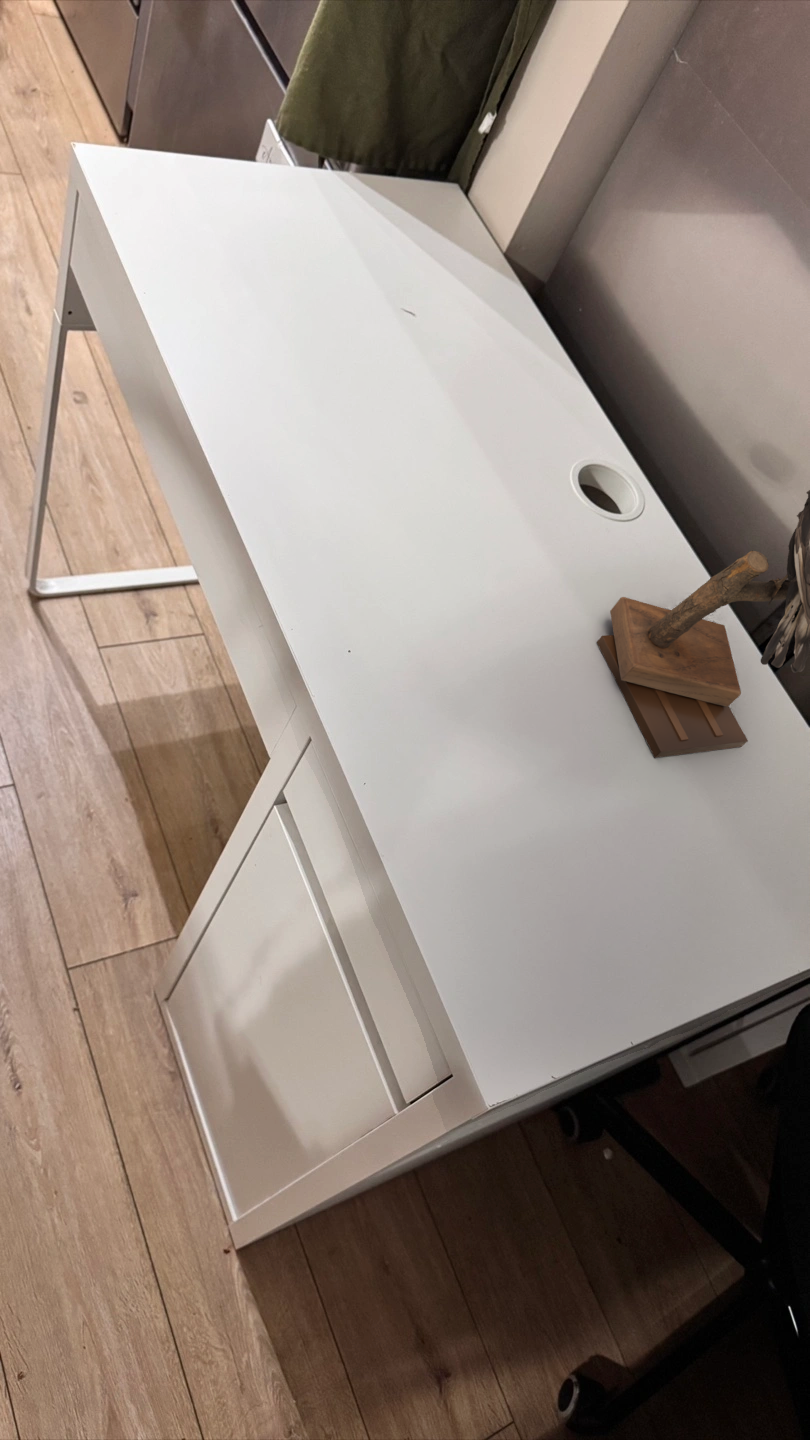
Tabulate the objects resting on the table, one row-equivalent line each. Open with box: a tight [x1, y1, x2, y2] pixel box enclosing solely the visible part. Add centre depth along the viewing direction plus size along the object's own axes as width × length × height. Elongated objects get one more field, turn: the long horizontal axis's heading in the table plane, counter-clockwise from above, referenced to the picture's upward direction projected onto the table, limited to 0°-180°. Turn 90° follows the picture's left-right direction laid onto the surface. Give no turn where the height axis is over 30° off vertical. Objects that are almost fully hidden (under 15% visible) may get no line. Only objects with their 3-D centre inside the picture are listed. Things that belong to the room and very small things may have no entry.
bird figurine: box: [609, 489, 810, 707], centre depth 78 cm, size 11×14×25 cm
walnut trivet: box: [596, 634, 749, 759], centre depth 88 cm, size 12×10×1 cm
